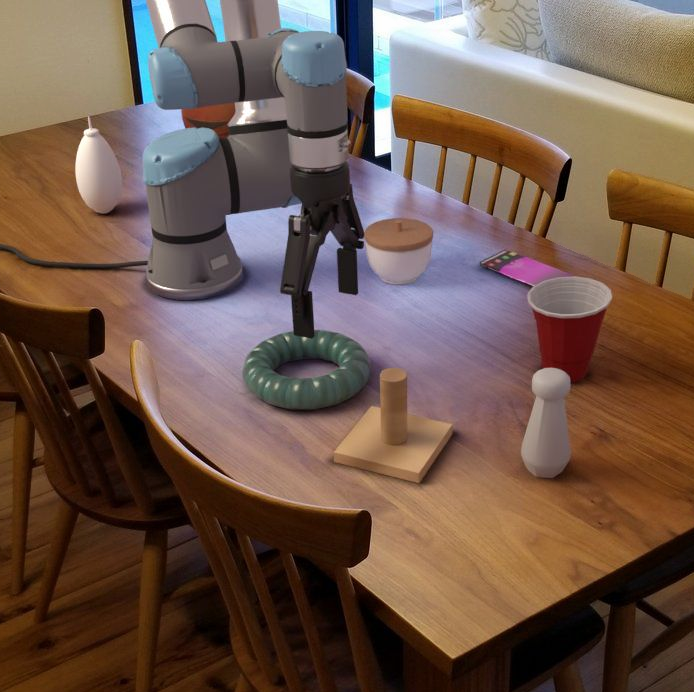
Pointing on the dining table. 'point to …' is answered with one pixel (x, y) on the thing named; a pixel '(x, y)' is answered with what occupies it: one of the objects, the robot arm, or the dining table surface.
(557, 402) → the salt shaker
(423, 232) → the trinket box
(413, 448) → the peg stand
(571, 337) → the plastic cup
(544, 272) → the smartphone
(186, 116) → the terracotta vase
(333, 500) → the dining table surface
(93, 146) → the white air blower bulb
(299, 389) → the ring
